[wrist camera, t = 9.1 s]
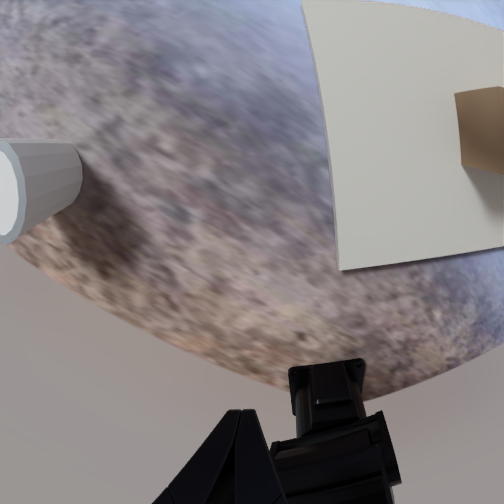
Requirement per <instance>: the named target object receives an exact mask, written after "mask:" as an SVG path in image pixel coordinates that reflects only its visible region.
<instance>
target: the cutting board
mask: <svg viewBox="0 0 504 504" xmlns="http://www.w3.org/2000/svg"><path fill="white" fill-rule="evenodd" d="M300 8H301V12H302V16H303V20H304V24H305V28H306V33H307V37H308V42H309V46H310V51H311V56H312V61H313V66H314V71H315V77H316V82H317V88H318V93H319V99H320V105H321V112H322V118H323V125H324V132H325V139H326V147H327V155H328V163H329V172H330V181H331V191H332V202H333V214H334V227H335V242H336V260H337V266H338V269H339V271H341V270H349V269H357V268H364V267H372V266H379V265H386V264H394V263H401V262H408V261H414V260H421V259H428V258H435V257H441V256H447V255H454V254H460V253H466V252H472V251H478V250H484V249H490V248H496V247H502V246H504V175H502V174H498V173H494V172H490V171H486V170H482V169H478V168H473V167H469V166H464V165H461V151H460V138H459V127H458V118H457V111H456V104H455V97H454V93H458V92H464V91H469V90H476V89H482V88H489V87H496V86H500V87H504V31H502V30H500V29H497V28H494V27H491V26H489V25H486V24H483V23H480V22H476V21H473V20H470V19H466V18H463V17H459V16H456V15H452V14H448V13H443V12H439V11H434V10H430V9H425V8H419V7H413V6H407V5H400V4H393V3H384V2H374V1H360V0H301V5H300Z"/></svg>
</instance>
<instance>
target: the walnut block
mask: <svg viewBox="0 0 504 504" xmlns="http://www.w3.org/2000/svg"><path fill="white" fill-rule="evenodd" d="M454 97H455V104H456V111H457V118H458V127H459V138H460V151H461V165H464V166H469V167H473V168H478V169H482V170H486V171H490V172H494V173H498V174H502V175H504V87H500V86H496V87H489V88H482V89H476V90H469V91H464V92H458V93H454Z"/></svg>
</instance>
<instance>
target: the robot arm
mask: <svg viewBox="0 0 504 504" xmlns="http://www.w3.org/2000/svg"><path fill="white" fill-rule="evenodd" d="M357 364H359V365H357ZM364 367H365V363H364V360H363V359H361V358H358V359H352V360H345V361H338V362H331V363H323V364H315V365H306V366H297V367H291V368H290V369H289V370H288V377H289V385H290V394H291V403H292V412H293V415H294V416H296V430H297V431H296V432H297V438H294V439H290V440H285V441H281V442H280V441H276V442H272V445H271V448H270V451H269V449H268V446H267V443H266V441H265V438H264V435H263V432H262V429H261V426H260V423H259V420H258V417H257V414H256V411H255V409H244V410H242V411H241V410H239V409H235V410H228V411H227V412H226V414H225V415H224V416H223V418H222V419H221V420H220V422H219V423H218V424H217V426H216V427H215V428H214V429H213V431H212V432H211V433H210V435H209V436H208V437H207V438H206V440H205V441H204V442H203V444H202V445H201V446H200V448H199V449H198V450H197V451H196V452H195V454H194V455H193V456H192V458H191V459H190V460H189V461H188V462H187V464H186V465H185V466H184V467H183V468H182V470H181V471H180V472H179V473H178V475H177V476H176V477H175V478H174V479H173V480H172V482H171V483H170V484H169V485H168V487H167V488H165V490H164V491H163V492H162V493H161V494H160V496H158V498H157V499H156V500H155V501H154V502H153V503H152V504H395V503H394V495H393V490H392V486H395V485H398V484H401V483H402V482H401V477H400V473H399V469H398V464H397V460H396V457H395V453H394V449H393V445H392V442H391V438H390V435H389V432H388V429H387V425H386V421H385V418H384V415H383V412H382V410H381V411H379V412H376V414H374V415H371V416H368V417H367V416H366V412H365V408H364V404H363V400H362V397H361V393H362V385H363V377H364ZM293 372H296V373H293Z"/></svg>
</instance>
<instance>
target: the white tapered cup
mask: <svg viewBox="0 0 504 504" xmlns="http://www.w3.org/2000/svg"><path fill="white" fill-rule="evenodd" d="M82 181H83V175H82V164H81V161H80V158H79V155H78V152H77V151H76V150H75V149H74V148H73V147H72V145H71V144H70V143H67V142H65V141H62V140H55V139H31V138H0V244H10V243H11V242H12V241H14V240H15V239H17V238H18V237H20V236H21V235H23V234H24V233H26V232H27V231H29V230H30V229H32V228H33V227H35V226H36V225H38V224H40V223H41V222H43V221H44V220H46V219H48V218H49V217H51V216H52V215H54V214H56V213H57V212H59V211H61V210H62V209H64V208H66V207H67V206H69V205H70V204H72V203H73V202H74V201H75V199H76V198H77V196H78V194H79V193H80V189H81V185H82Z"/></svg>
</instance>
